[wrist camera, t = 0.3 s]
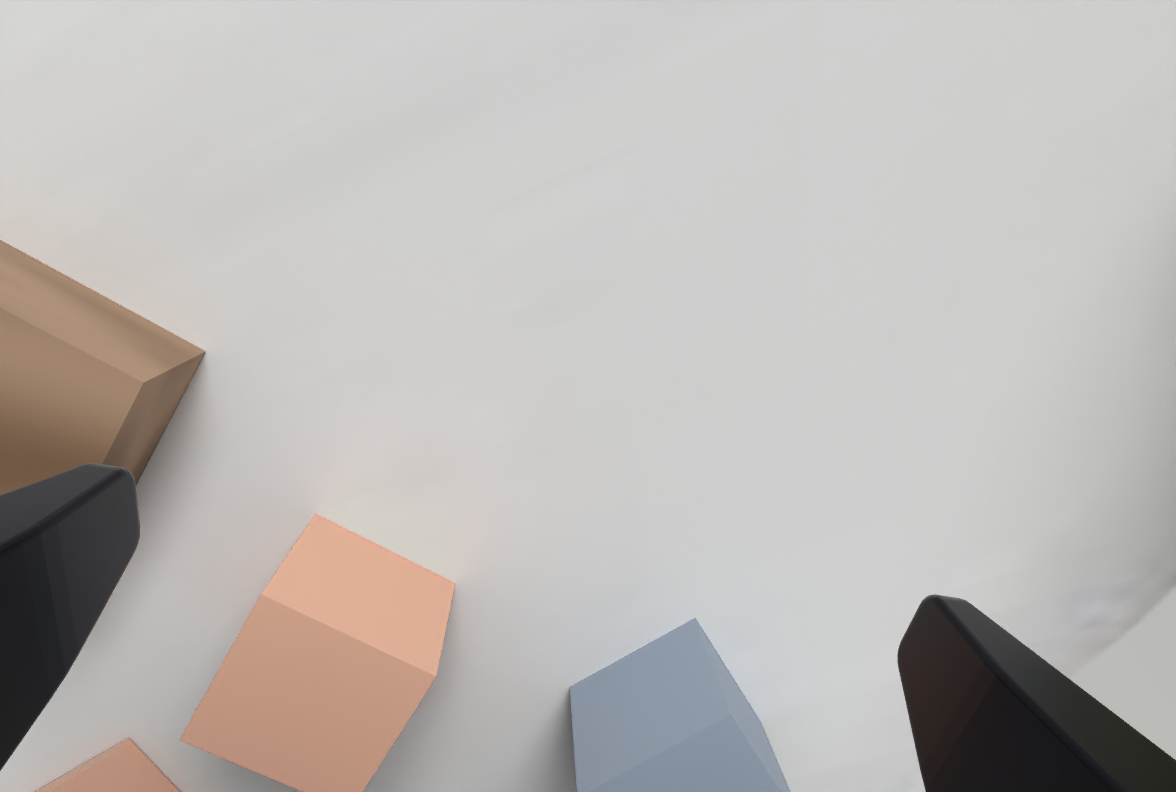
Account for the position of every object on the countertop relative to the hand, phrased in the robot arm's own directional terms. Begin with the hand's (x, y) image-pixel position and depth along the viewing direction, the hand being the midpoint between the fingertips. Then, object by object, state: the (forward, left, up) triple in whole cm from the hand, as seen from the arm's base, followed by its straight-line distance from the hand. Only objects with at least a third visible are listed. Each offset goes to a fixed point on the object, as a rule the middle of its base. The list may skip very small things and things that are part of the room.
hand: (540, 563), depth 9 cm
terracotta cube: (-10, -5, -15) cm, 19 cm away
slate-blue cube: (-3, -14, -15) cm, 21 cm away
